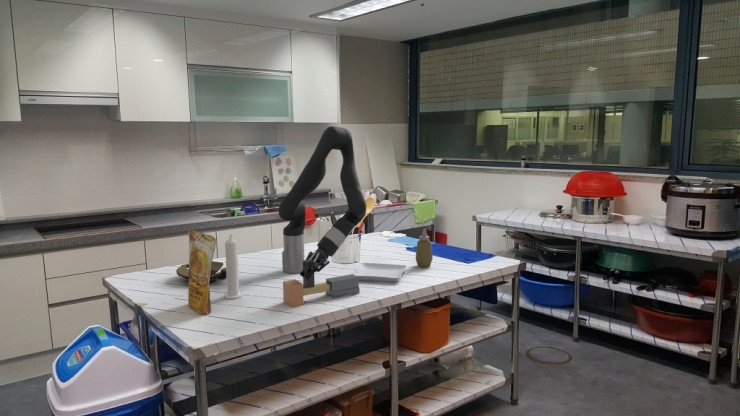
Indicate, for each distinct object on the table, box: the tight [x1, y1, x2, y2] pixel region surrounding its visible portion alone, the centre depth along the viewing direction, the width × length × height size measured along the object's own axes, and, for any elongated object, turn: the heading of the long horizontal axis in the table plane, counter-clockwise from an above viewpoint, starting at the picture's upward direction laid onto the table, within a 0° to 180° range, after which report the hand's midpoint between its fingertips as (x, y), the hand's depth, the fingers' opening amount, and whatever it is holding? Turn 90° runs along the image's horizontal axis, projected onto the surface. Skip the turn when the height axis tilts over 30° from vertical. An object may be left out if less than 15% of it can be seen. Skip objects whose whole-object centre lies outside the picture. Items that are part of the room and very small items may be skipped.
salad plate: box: [352, 262, 407, 283], centre depth 234 cm, size 21×21×3 cm
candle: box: [223, 233, 244, 300], centre depth 205 cm, size 7×7×25 cm
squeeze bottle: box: [415, 228, 433, 268], centre depth 249 cm, size 8×8×18 cm
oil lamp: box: [175, 260, 227, 282], centre depth 228 cm, size 22×30×8 cm
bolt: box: [302, 259, 331, 297], centre depth 202 cm, size 20×3×13 cm, turn 122°
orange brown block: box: [282, 278, 305, 308], centre depth 198 cm, size 5×7×8 cm
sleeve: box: [325, 273, 361, 299], centre depth 209 cm, size 12×6×6 cm, turn 122°
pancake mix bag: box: [187, 229, 217, 315], centre depth 191 cm, size 7×19×28 cm, turn 39°
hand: (303, 276), depth 199 cm, fingers closed on bolt, 3 cm apart
